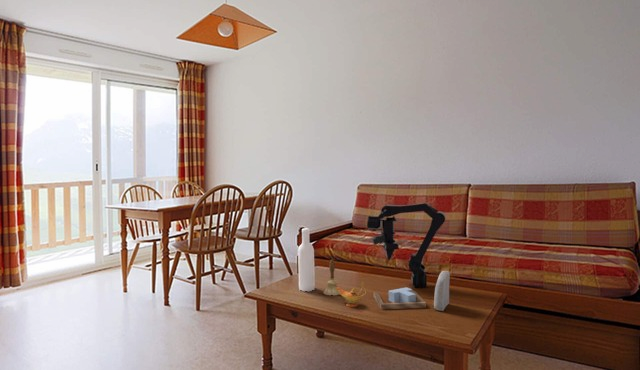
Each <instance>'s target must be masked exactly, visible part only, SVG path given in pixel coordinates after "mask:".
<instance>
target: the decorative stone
mask: <svg viewBox="0 0 640 370" xmlns="http://www.w3.org/2000/svg"><path fill="white" fill-rule="evenodd" d="M450 276H451V274H450V271H449V270H442V271H441V272H440V273H439V275H438V278H437V280H436V284H435V287H434V297H433V298H434V299H433V307H434V310H436V311H440V312H444V310H445V309H446V308H447V306H448V305H449V304H450V279H451V277H450Z"/></svg>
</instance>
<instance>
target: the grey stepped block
mask: <svg viewBox="0 0 640 370" xmlns="http://www.w3.org/2000/svg"><path fill="white" fill-rule="evenodd" d="M412 291H413V289H412V288H410V287H400V288H396V289H395V288H394V289H391V290H388V301H389V302H390V303H403V302H417V301H416V294H414V293H412Z"/></svg>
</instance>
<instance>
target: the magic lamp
mask: <svg viewBox="0 0 640 370" xmlns="http://www.w3.org/2000/svg"><path fill="white" fill-rule="evenodd" d="M332 286H333V287H334V288H335V289H336V290H337V291H338V292H339V293H340V294H339V295H340V296H342V297H343V299H345V301H348V302H347V303H346V305H345V306H347V307H349V308H350V307H352V308H354V307H355V308H356V307H357V306H359V304H358V303H357V301H360V298H361V297H363V296H365V295H366V294H367V290H366V288H365V282H364V281H363V282H361V289H360V291H359V292H357V290H356V288H354V287H353V288H352V289H351V290H350V291H347V290H344V289H342V288H341V287H340V286H338V285H337V286H336V285H332ZM363 290H364V292H365V293H363V294H362V295H360V294H361V293H362V291H363Z"/></svg>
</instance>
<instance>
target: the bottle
mask: <svg viewBox="0 0 640 370" xmlns="http://www.w3.org/2000/svg"><path fill="white" fill-rule="evenodd" d="M310 232H311V231H310V228H307V227H305V228H302V229H301V244H300V245H299V246H298V249H297V258H298V263H297V264H298V290H299V291H300V290H302V291H301V292H305V291H307V292H312V290H313V291H314V290H315V289H316V282H315V281H316V279H315V277H316V276H315V249H314V246H313V244H312V243H310Z"/></svg>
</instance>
